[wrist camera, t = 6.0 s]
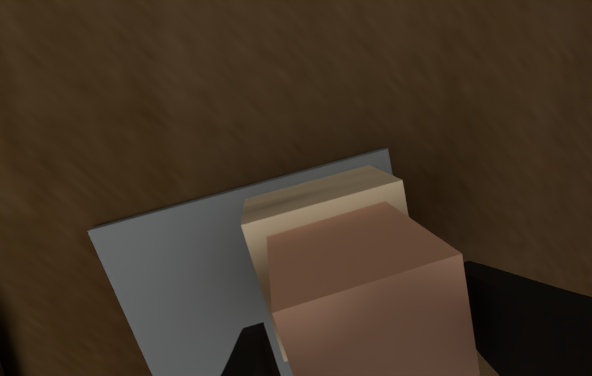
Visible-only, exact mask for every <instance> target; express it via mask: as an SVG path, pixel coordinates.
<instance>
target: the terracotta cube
mask: <svg viewBox="0 0 592 376" xmlns="http://www.w3.org/2000/svg"><path fill="white" fill-rule="evenodd" d="M267 251H268V265H269V278H270V292H271V305H272V314H273V317H274V320H275V323H276V326H277V329H278V332H279V335H280V338H281V341H282V344H283V347H284V350H285V353H286V356H287V359H288V362H289V365H290V368H291V371H292V374H293V376H480V373H479V366H478V359H477V352H476V346H475V339H474V332H473V325H472V318H471V312H470V305H469V298H468V291H467V284H466V278H465V271H464V264H463V257H462V253H460V252H459V251H457V250H456V249H454V248H453V247H451V246H450V245H449V244H447V243H446V242H444V241H443V240H441V239H440V238H438V237H437V236H435V235H434V234H433V233H431V232H430V231H428V230H427V229H425V228H424V227H422V226H421V225H419V224H418V223H417V222H415V221H414V220H412V219H411V218H409V217H408V216H406V215H405V214H404V213H402V212H401V211H399V210H398V209H396V208H395V207H393V206H392V205H390V204H389V203H388V202H386V201H384V202H381V203H377V204H374V205H371V206H367V207H364V208H361V209H357V210H354V211H351V212H347V213H344V214H340V215H337V216H334V217H330V218H327V219H324V220H320V221H317V222H314V223H310V224H307V225H304V226H300V227H297V228H294V229H290V230H287V231H284V232H280V233H277V234H274V235H270V236H267Z"/></svg>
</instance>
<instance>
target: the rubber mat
mask: <svg viewBox="0 0 592 376" xmlns="http://www.w3.org/2000/svg"><path fill="white" fill-rule="evenodd" d="M367 165H371V166H373V167H375V168H378V169H380V170H382V171H384V172H386V173H388V174H391V175H393V174H392V169H391V163H390V158H389V152H388V149H387V148H381V149H377V150H374V151H370V152H366V153H363V154H359V155H355V156H352V157H348V158H344V159H341V160H337V161H333V162H330V163H326V164H322V165H319V166H315V167H311V168H308V169H304V170H300V171H297V172H293V173H289V174H286V175H282V176H278V177H275V178H271V179H267V180H264V181H260V182H256V183H253V184H249V185H245V186H242V187H238V188H234V189H231V190H227V191H223V192H220V193H216V194H212V195H209V196H205V197H201V198H198V199H194V200H190V201H187V202H183V203H179V204H176V205H172V206H168V207H165V208H161V209H157V210H154V211H150V212H146V213H143V214H139V215H135V216H132V217H128V218H124V219H121V220H117V221H113V222H110V223H106V224H102V225H99V226H95V227H92V228H91V229H89V230H88V231H87V232H88V234H89V236H90V238H91V240H92V243H93V245H94V247H95V249H96V252H97V254H98V256H99V258H100V260H101V263H102V265H103V267H104V269H105V271H106V274H107V276H108V278H109V280H110V283H111V285H112V287H113V289H114V291H115V294H116V296H117V298H118V300H119V302H120V305H121V307H122V309H123V311H124V314H125V316H126V318H127V320H128V322H129V325H130V327H131V329H132V331H133V333H134V336H135V338H136V340H137V342H138V345H139V347H140V349H141V351H142V353H143V356H144V358H145V360H146V362H147V364H148V367H149V369H150V371H151V373H152V376H221V374H222V372H223V370H224V368H225V365H226V363H227V361H228V359H229V357H230V355H231V352H232V350H233V348H234V346H235V343H236V341H237V339H238V337H239V334H240V332H241V331H242V329H243V328H245V327H249V326H252V325H255V324H259V323H262V322H264V326H265V329H266V332H267V335H268V338H269V341H270V344H271V347H272V350H273V353H274V356H275V359H276V363H277V366H278V369H279V372H280V375H281V376H293V374H292V371H291V368H290V365H289V362H288V361H286V362H284V360H283V357H282V353H281V350H280V347H279V344H278V341H277V338H276V335H275V331H274V328H273V325H272V322H271V319H270V316H269V312H268V309H267V306H266V303H265V300H264V297H263V293H262V290H261V287H260V284H259V281H258V278H257V275H256V271H255V268H254V265H253V262H252V259H251V256H250V252H249V249H248V246H247V243H246V240H245V237H244V233H243V230H242V227H241V221H242V214H243V207H244V200H245V199H247V198H251V197H254V196H258V195H262V194H265V193H269V192H272V191H276V190H280V189H283V188H287V187H291V186H294V185H298V184H301V183H305V182H309V181H312V180H316V179H320V178H323V177H327V176H331V175H334V174H338V173H341V172H345V171H349V170H352V169H356V168H360V167H363V166H367Z"/></svg>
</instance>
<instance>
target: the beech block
mask: <svg viewBox="0 0 592 376" xmlns="http://www.w3.org/2000/svg"><path fill="white" fill-rule="evenodd" d="M384 201H386V202H388V203H389V204H390V205H392V206H393V207H395V208H396V209H398V210H399V211H401V212H402V213H404V214H405V215H406V216H408V217H409V215H408V210H407V204H406V198H405V192H404V186H403V180H401V179H399V178H397V177H395V176H393V175H391V174H388V173H386V172H384V171H382V170H380V169H378V168H375V167H373V166H371V165H367V166H363V167H360V168H356V169H352V170H349V171H345V172H341V173H338V174H334V175H331V176H327V177H323V178H320V179H316V180H312V181H309V182H305V183H301V184H298V185H294V186H291V187H287V188H283V189H280V190H276V191H272V192H269V193H265V194H262V195H258V196H254V197H251V198H247V199H245V200H244V207H243V214H242V221H241V227H242V230H243V233H244V237H245V240H246V243H247V246H248V249H249V252H250V256H251V259H252V262H253V265H254V268H255V271H256V275H257V278H258V281H259V284H260V287H261V290H262V293H263V297H264V300H265V303H266V306H267V309H268V312H269V316H270V319H271V322H272V325H273V328H274V331H275V335H276V338H277V341H278V344H279V347H280V350H281V353H282V357H283V360H284V362H286V361H288V359H287V356H286V353H285V350H284V347H283V344H282V341H281V338H280V335H279V332H278V329H277V326H276V323H275V320H274V317H273V314H272V305H271V292H270V278H269V265H268V251H267V236H270V235H274V234H277V233H280V232H284V231H287V230H290V229H294V228H297V227H300V226H304V225H307V224H310V223H314V222H317V221H320V220H324V219H327V218H330V217H334V216H337V215H340V214H344V213H347V212H351V211H354V210H357V209H361V208H364V207H367V206H371V205H374V204H377V203H381V202H384Z"/></svg>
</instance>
